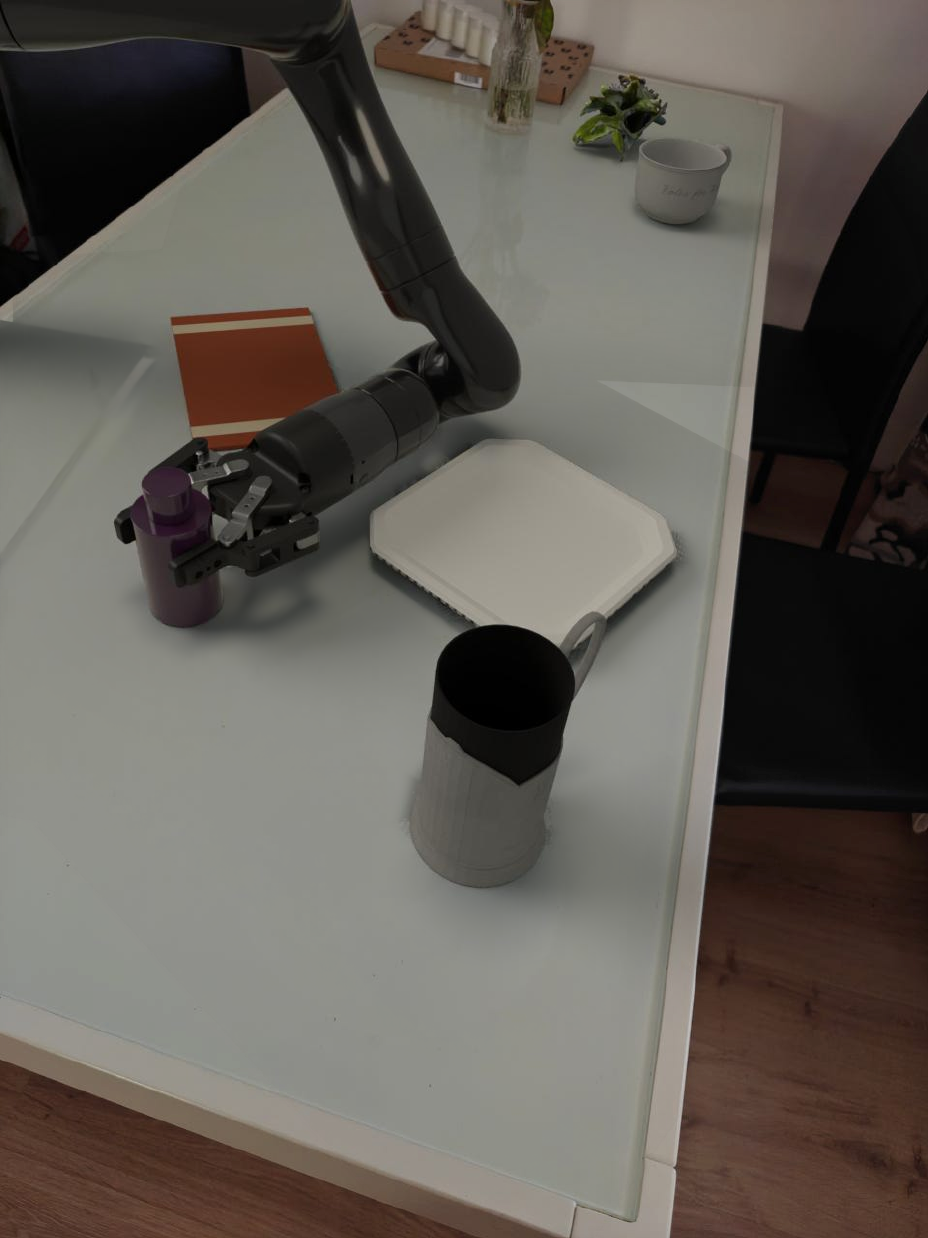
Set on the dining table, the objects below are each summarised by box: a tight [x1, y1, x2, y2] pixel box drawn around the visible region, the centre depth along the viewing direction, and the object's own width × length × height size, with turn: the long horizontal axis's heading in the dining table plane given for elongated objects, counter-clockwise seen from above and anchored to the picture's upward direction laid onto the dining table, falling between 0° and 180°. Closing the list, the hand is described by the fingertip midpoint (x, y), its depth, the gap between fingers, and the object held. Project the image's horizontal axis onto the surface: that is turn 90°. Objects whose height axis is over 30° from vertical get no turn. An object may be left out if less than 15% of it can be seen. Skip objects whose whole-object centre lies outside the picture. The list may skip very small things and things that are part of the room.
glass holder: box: [409, 611, 608, 888], centre depth 60 cm, size 9×14×15 cm, turn 138°
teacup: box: [634, 136, 733, 225], centre depth 125 cm, size 14×11×8 cm
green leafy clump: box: [572, 74, 668, 162], centre depth 138 cm, size 11×11×12 cm
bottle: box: [130, 467, 224, 628], centre depth 70 cm, size 5×5×12 cm
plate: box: [369, 438, 678, 651], centre depth 81 cm, size 21×21×2 cm
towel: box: [170, 306, 339, 452], centre depth 95 cm, size 22×14×1 cm, turn 17°
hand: (145, 554), depth 68 cm, fingers closed on bottle, 5 cm apart
